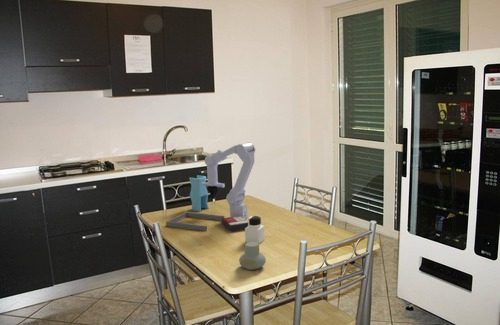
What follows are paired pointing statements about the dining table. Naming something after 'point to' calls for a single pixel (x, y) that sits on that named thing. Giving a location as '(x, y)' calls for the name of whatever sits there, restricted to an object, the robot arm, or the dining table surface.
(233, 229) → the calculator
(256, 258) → the air freshener
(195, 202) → the light blue tall block
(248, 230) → the medicine bottle
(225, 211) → the dining table surface
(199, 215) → the grey piece
